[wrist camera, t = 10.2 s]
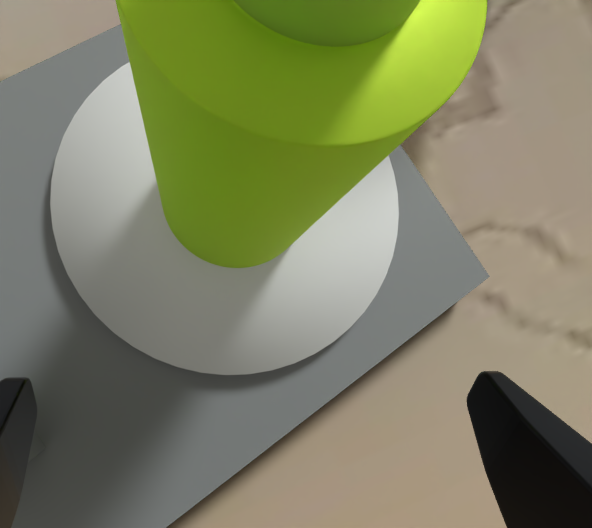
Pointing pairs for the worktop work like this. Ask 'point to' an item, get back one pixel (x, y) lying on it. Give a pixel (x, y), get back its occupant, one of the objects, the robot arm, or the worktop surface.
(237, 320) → the kitchen scale
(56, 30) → the worktop surface
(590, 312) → the worktop surface
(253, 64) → the soap dispenser
